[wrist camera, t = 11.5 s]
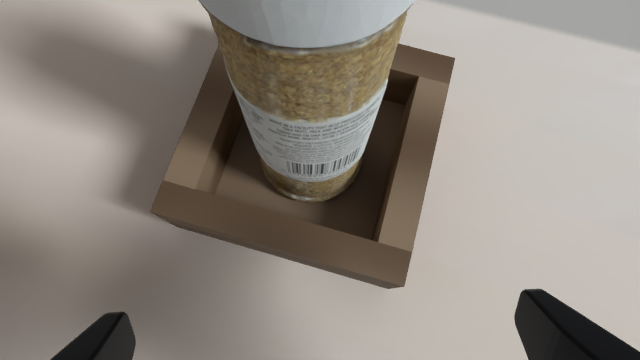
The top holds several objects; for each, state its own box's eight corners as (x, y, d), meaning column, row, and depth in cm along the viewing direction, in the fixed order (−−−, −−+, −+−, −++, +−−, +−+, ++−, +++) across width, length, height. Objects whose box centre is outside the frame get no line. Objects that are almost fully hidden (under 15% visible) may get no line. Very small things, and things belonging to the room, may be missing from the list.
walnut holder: (387, 288, 18) (404, 286, 14) (177, 226, 18) (149, 211, 15) (433, 95, 20) (455, 58, 17) (247, 45, 21) (236, 1, 18)
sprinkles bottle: (363, 113, 19) (469, -275, 6) (358, 210, 18) (480, -28, 5) (264, 106, 19) (165, -297, 6) (253, 202, 18) (99, -55, 5)
